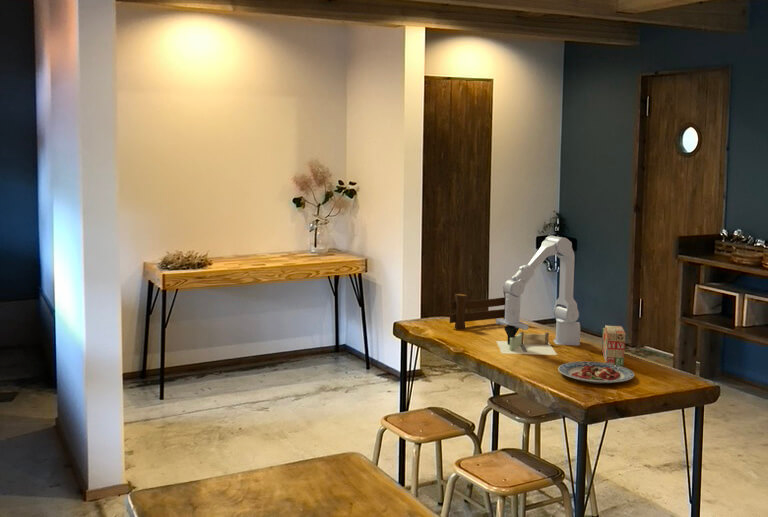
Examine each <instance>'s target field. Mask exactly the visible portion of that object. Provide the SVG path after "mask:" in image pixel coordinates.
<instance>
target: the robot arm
mask: <svg viewBox="0 0 768 517" xmlns="http://www.w3.org/2000/svg"><path fill="white" fill-rule="evenodd" d="M575 255H576V254H575V251H574V250H573V243H572V241H570V240H569V239H568V238H567V237H561V236H555V235H553V234H552V235H547V237H545V239H544V240H543V241H542V242H541V245H540V247H539V248H538V250H537V251H536V253H535V254H534V255H533V257H532V258H531V259H530V261H529V262H528V264H523V265H522V266H519V268H518V270H517V272H515V274H514V275H512V276H511V279H510V278H509V279H508V280H506V281H505V283H504V285H503V286H502V289H503V290H504V292H505V296H506V302H505V305H504V308H505V319H503V318H497V319H495V324H496V325H503V326H506V327H503V328H504V331H505V333H506V336H507V341H508V345H510V338H514V337H515V336H517V333H518V331H519V330H520V329H521V330H523V331H527V330H529V326H530V325H529V324H527V323H524V322H522V321H521V320H520V318H521V299H522V298H521V297H522V296H521V295H522V294H524V292H525V287H526V285H527V284H528V283H529V281H530V280H531V279H532V278H533V277H534V276H535V270H536V269H537V268H538V267H539V266H540V265H541V264H542V263H544V261H545V260H546V259H547V258H548V257H552V256H556V257H557V258H558V259H559V289H558V290H559V291H558V292H559V293H558V298H557V299H556V300H555V303H554V304H555V305H554V307H553V310H552V312H553V316H554V317H555V320H556V324H555V325H556V326H555V339H552V340H553V342H554V344H555V345H557V346H558V345H560V346H581V344H580V342H581V323H580V322H579V321H578V320H579V316H580V312H579V310H578V303H577V301H576V300H575V299H574V284H575V282H574V281H575V280H574V279H575ZM504 292H503V293H504Z"/></svg>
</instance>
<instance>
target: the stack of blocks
mask: <svg viewBox="0 0 768 517" xmlns="http://www.w3.org/2000/svg"><path fill="white" fill-rule="evenodd" d="M626 335H627V334H626V332H625V330H624V328H623V327H622V326H621V325H606V324H605V327H602V332H601V337H602V339H601V352H602V356H603V358H604V363H609V364H614V365H618V366H622V367H624V361H625V349H626V348H625V346H626Z"/></svg>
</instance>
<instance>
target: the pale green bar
mask: <svg viewBox="0 0 768 517" xmlns="http://www.w3.org/2000/svg"><path fill="white" fill-rule="evenodd" d="M521 343H522V334H519V333H518V334H516V335H515V337H514V338H510V350H514V349H515V348H516V347H518V346H519V345H520V344H521Z"/></svg>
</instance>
